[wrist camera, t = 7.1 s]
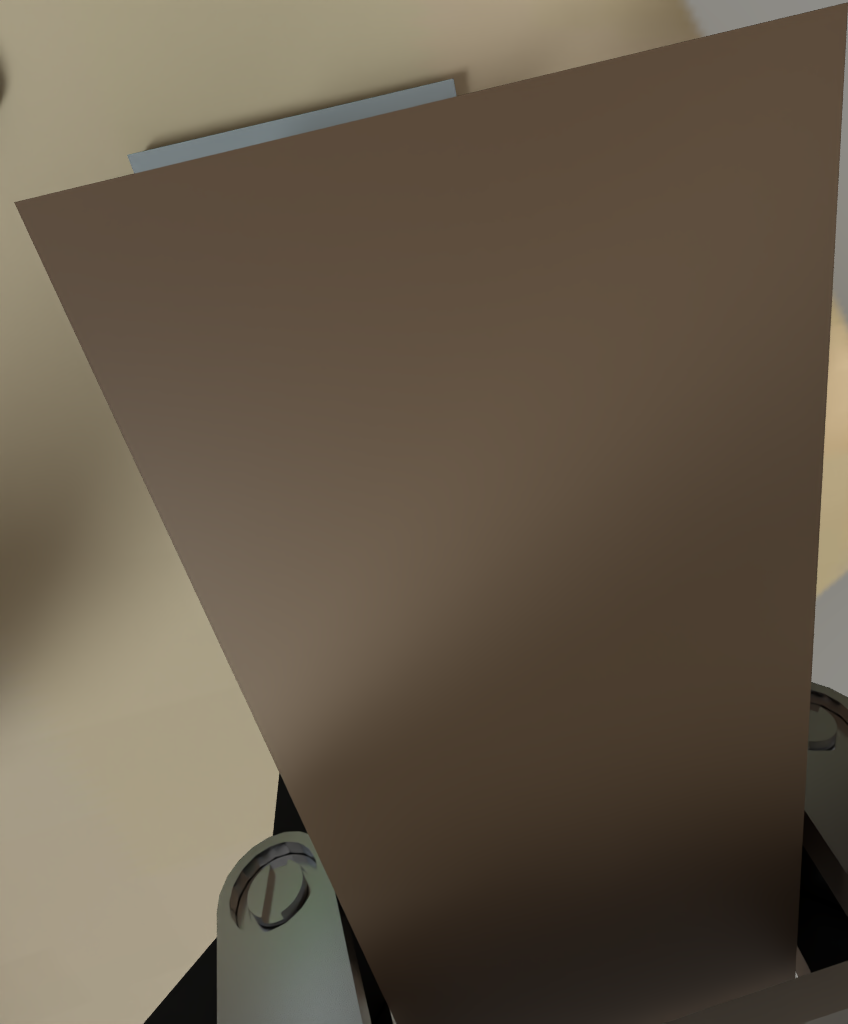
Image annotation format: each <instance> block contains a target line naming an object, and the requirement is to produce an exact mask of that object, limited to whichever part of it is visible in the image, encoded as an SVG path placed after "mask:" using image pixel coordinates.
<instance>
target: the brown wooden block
mask: <svg viewBox="0 0 848 1024" xmlns="http://www.w3.org/2000/svg"><path fill="white" fill-rule="evenodd" d="M847 12H848V3H843V4H839V5H836V6H831V7H827V8H823V9H818V10H814V11H810V12H806V13H802V14H798V15H793V16H789V17H785V18H781V19H777V20H773V21H768V22H764V23H760V24H756V25H752V26H748V27H743V28H739V29H735V30H731V31H727V32H723V33H718V34H714V35H710V36H706V37H702V38H698V39H693V40H689V41H685V42H681V43H677V44H673V45H668V46H664V47H660V48H656V49H652V50H648V51H643V52H639V53H635V54H631V55H627V56H622V57H618V58H614V59H610V60H606V61H602V62H597V63H593V64H589V65H585V66H581V67H577V68H572V69H568V70H564V71H560V72H556V73H552V74H547V75H543V76H539V77H535V78H531V79H527V80H522V81H518V82H514V83H510V84H506V85H502V86H497V87H493V88H489V89H485V90H481V91H477V92H472V93H468V94H464V95H460V96H456V97H452V98H447V99H443V100H439V101H435V102H431V103H427V104H422V105H418V106H414V107H410V108H406V109H402V110H397V111H393V112H389V113H385V114H381V115H376V116H372V117H368V118H364V119H360V120H356V121H351V122H347V123H343V124H339V125H335V126H331V127H326V128H322V129H318V130H314V131H310V132H306V133H301V134H297V135H293V136H289V137H285V138H281V139H276V140H272V141H268V142H264V143H260V144H256V145H251V146H247V147H243V148H239V149H235V150H231V151H226V152H222V153H218V154H214V155H210V156H206V157H201V158H197V159H193V160H189V161H185V162H181V163H176V164H172V165H168V166H164V167H160V168H156V169H151V170H147V171H143V172H139V173H135V174H130V175H126V176H122V177H118V178H114V179H110V180H105V181H101V182H97V183H93V184H89V185H85V186H80V187H76V188H72V189H68V190H64V191H60V192H55V193H51V194H47V195H43V196H39V197H35V198H30V199H26V200H22V201H18V202H14V203H15V205H16V207H17V209H18V211H19V213H20V216H21V218H22V220H23V222H24V224H25V226H26V229H27V231H28V233H29V235H30V237H31V239H32V241H33V244H34V246H35V248H36V250H37V252H38V254H39V256H40V259H41V261H42V263H43V265H44V267H45V269H46V272H47V274H48V276H49V278H50V280H51V282H52V284H53V287H54V289H55V291H56V293H57V295H58V297H59V299H60V302H61V304H62V306H63V308H64V310H65V312H66V315H67V317H68V319H69V321H70V323H71V325H72V327H73V330H74V332H75V334H76V336H77V338H78V340H79V342H80V345H81V347H82V349H83V351H84V353H85V355H86V358H87V360H88V362H89V364H90V366H91V368H92V370H93V373H94V375H95V377H96V379H97V381H98V383H99V385H100V388H101V390H102V392H103V394H104V396H105V398H106V401H107V403H108V405H109V407H110V409H111V411H112V413H113V416H114V418H115V420H116V422H117V424H118V426H119V428H120V431H121V433H122V435H123V437H124V439H125V441H126V444H127V446H128V448H129V450H130V452H131V454H132V456H133V459H134V461H135V463H136V465H137V467H138V469H139V471H140V474H141V476H142V478H143V480H144V482H145V484H146V487H147V489H148V491H149V493H150V495H151V497H152V499H153V502H154V504H155V506H156V508H157V510H158V512H159V514H160V517H161V519H162V521H163V523H164V525H165V527H166V530H167V532H168V534H169V536H170V538H171V540H172V542H173V545H174V547H175V549H176V551H177V553H178V555H179V557H180V560H181V562H182V564H183V566H184V568H185V570H186V573H187V575H188V577H189V579H190V581H191V583H192V585H193V588H194V590H195V592H196V594H197V596H198V598H199V600H200V603H201V605H202V607H203V609H204V611H205V613H206V616H207V618H208V620H209V622H210V624H211V626H212V628H213V631H214V633H215V635H216V637H217V639H218V641H219V644H220V646H221V648H222V650H223V652H224V654H225V656H226V659H227V661H228V663H229V665H230V667H231V669H232V671H233V674H234V676H235V678H236V680H237V682H238V684H239V687H240V689H241V691H242V693H243V695H244V697H245V699H246V702H247V704H248V706H249V708H250V710H251V712H252V714H253V717H254V719H255V721H256V723H257V725H258V727H259V730H260V732H261V734H262V736H263V738H264V740H265V742H266V745H267V747H268V749H269V751H270V753H271V755H272V757H273V760H274V762H275V764H276V766H277V768H278V770H279V773H280V775H281V777H282V779H283V781H284V783H285V785H286V788H287V790H288V792H289V794H290V796H291V798H292V800H293V803H294V805H295V807H296V809H297V811H298V813H299V816H300V818H301V820H302V822H303V824H304V826H305V828H306V831H307V833H308V835H309V837H310V839H311V841H312V843H313V846H314V848H315V850H316V852H317V854H318V856H319V859H320V861H321V863H322V865H323V867H324V869H325V871H326V874H327V876H328V878H329V880H330V882H331V884H332V886H333V889H334V891H335V893H336V895H337V897H338V899H339V902H340V904H341V906H342V908H343V910H344V912H345V914H346V917H347V919H348V921H349V923H350V925H351V927H352V929H353V932H354V934H355V936H356V938H357V940H358V942H359V945H360V947H361V949H362V951H363V953H364V955H365V957H366V960H367V962H368V964H369V966H370V968H371V970H372V972H373V975H374V977H375V979H376V981H377V983H378V985H379V988H380V990H381V992H382V994H383V996H384V998H385V1000H386V1003H387V1005H388V1007H389V1009H390V1011H391V1013H392V1015H393V1018H394V1020H395V1022H396V1024H664V1023H666V1022H669V1021H672V1020H675V1019H678V1018H681V1017H684V1016H687V1015H690V1014H693V1013H696V1012H699V1011H701V1010H704V1009H707V1008H710V1007H713V1006H716V1005H719V1004H722V1003H725V1002H728V1001H731V1000H734V999H736V998H739V997H742V996H745V995H748V994H751V993H754V992H757V991H760V990H763V989H766V988H769V987H771V986H774V985H777V984H780V983H783V982H786V981H789V980H792V979H795V972H796V953H797V935H798V916H799V898H800V879H801V861H802V842H803V824H804V805H805V787H806V769H807V750H808V732H809V713H810V695H811V676H812V657H813V639H814V621H815V602H816V584H817V566H818V547H819V529H820V510H821V492H822V473H823V455H824V436H825V418H826V400H827V381H828V363H829V344H830V326H831V307H832V289H833V268H834V252H835V250H834V249H835V233H836V214H837V196H838V178H839V160H840V141H841V122H842V104H843V103H842V102H843V83H844V67H845V66H844V65H845V49H846V30H847Z"/></svg>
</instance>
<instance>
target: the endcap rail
mask: <svg viewBox="0 0 848 1024" xmlns="http://www.w3.org/2000/svg"><path fill="white" fill-rule="evenodd" d="M452 97H456V91H455V85H454V79H449V80H445V81H441V82H436V83H432V84H428V85H424V86H419V87H415V88H411V89H407V90H402V91H398V92H394V93H389V94H385V95H381V96H377V97H372V98H368V99H364V100H360V101H355V102H351V103H347V104H343V105H338V106H334V107H330V108H326V109H321V110H317V111H313V112H309V113H304V114H300V115H296V116H292V117H287V118H283V119H279V120H275V121H270V122H266V123H262V124H257V125H253V126H249V127H245V128H240V129H236V130H232V131H228V132H223V133H219V134H215V135H211V136H206V137H202V138H198V139H194V140H189V141H185V142H181V143H177V144H172V145H168V146H164V147H160V148H155V149H151V150H147V151H143V152H138V153H134V154H130V155H127V156H128V158H129V161H130V163H131V166H132V169H133V171H134V174H135V173H139V172H143V171H147V170H151V169H156V168H160V167H164V166H168V165H172V164H176V163H181V162H185V161H189V160H193V159H197V158H201V157H206V156H210V155H214V154H218V153H222V152H226V151H231V150H235V149H239V148H243V147H247V146H251V145H256V144H260V143H264V142H268V141H272V140H276V139H281V138H285V137H289V136H293V135H297V134H301V133H306V132H310V131H314V130H318V129H322V128H326V127H331V126H335V125H339V124H343V123H347V122H351V121H356V120H360V119H364V118H368V117H372V116H376V115H381V114H385V113H389V112H393V111H397V110H402V109H406V108H410V107H414V106H418V105H422V104H427V103H431V102H435V101H439V100H443V99H447V98H452Z"/></svg>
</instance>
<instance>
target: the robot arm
mask: <svg viewBox="0 0 848 1024" xmlns="http://www.w3.org/2000/svg"><path fill="white" fill-rule="evenodd" d="M796 973H797V975H798V978H795V979H792V980H789V981H786V982H783V983H780V984H777V985H774V986H771V987H769V988H766V989H763V990H760V991H757V992H754V993H751V994H748V995H745V996H742V997H739V998H736V999H734V1000H731V1001H728V1002H725V1003H722V1004H719V1005H716V1006H713V1007H710V1008H707V1009H704V1010H701V1011H699V1012H696V1013H693V1014H690V1015H687V1016H684V1017H681V1018H678V1019H675V1020H672V1021H669V1022H666V1023H664V1024H848V697H846V696H844V695H842V694H841V693H839V692H837V691H835V690H833V689H831V688H829V687H825V686H822V685H819V684H816V683H813V682H811V695H810V713H809V732H808V750H807V769H806V787H805V805H804V824H803V842H802V861H801V879H800V898H799V916H798V935H797V953H796ZM144 1024H396V1022H395V1020H394V1018H393V1015H392V1013H391V1011H390V1009H389V1007H388V1005H387V1003H386V1000H385V998H384V996H383V994H382V992H381V990H380V988H379V985H378V983H377V981H376V979H375V977H374V975H373V972H372V970H371V968H370V966H369V964H368V962H367V960H366V957H365V955H364V953H363V951H362V949H361V947H360V945H359V942H358V940H357V938H356V936H355V934H354V932H353V929H352V927H351V925H350V923H349V921H348V919H347V917H346V914H345V912H344V910H343V908H342V906H341V904H340V902H339V899H338V897H337V895H336V893H335V891H334V889H333V886H332V884H331V882H330V880H329V878H328V876H327V874H326V871H325V869H324V867H323V865H322V863H321V861H320V859H319V856H318V854H317V852H316V850H315V848H314V846H313V843H312V841H311V839H310V837H309V835H308V833H307V831H306V828H305V826H304V824H303V822H302V820H301V818H300V816H299V813H298V811H297V809H296V807H295V805H294V803H293V800H292V798H291V796H290V794H289V792H288V790H287V788H286V785H285V783H284V781H283V779H282V777H281V775H280V773H279V782H278V792H277V801H276V811H275V820H274V830H273V836H271V837H269V838H267V839H265V840H264V841H262V842H261V843H259V844H257V845H256V846H254V847H253V848H252V849H251V850H250V851H248V852H247V853H246V854H245V855H244V856H243V857H242V858H241V859H240V860H239V861H238V862H237V864H236V865H235V867H234V868H233V869H232V871H231V872H230V874H229V875H228V876H227V879H226V881H225V883H224V886H223V888H222V890H221V893H220V895H219V902H218V908H217V938H216V939H215V940H214V941H213V942H212V944H211V945H210V946H209V947H208V948H207V949H206V951H205V952H204V953H203V954H202V955H201V957H200V958H199V959H198V960H197V961H196V962H195V964H194V965H193V966H192V967H191V968H190V969H189V971H188V972H187V973H186V974H185V975H184V977H183V978H182V979H181V980H180V981H179V982H178V984H177V985H176V986H175V987H174V988H173V990H172V991H171V992H170V993H169V994H168V995H167V997H166V998H165V999H164V1000H163V1001H162V1002H161V1004H160V1005H159V1006H158V1007H157V1008H156V1010H155V1011H154V1012H153V1013H152V1014H151V1015H150V1017H149V1018H148V1019H147V1020H146V1021H145V1023H144Z"/></svg>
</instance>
